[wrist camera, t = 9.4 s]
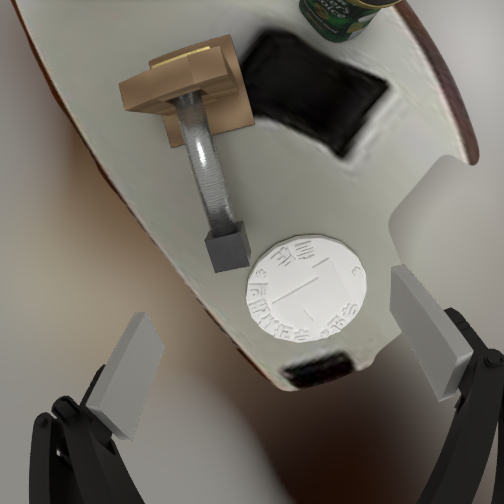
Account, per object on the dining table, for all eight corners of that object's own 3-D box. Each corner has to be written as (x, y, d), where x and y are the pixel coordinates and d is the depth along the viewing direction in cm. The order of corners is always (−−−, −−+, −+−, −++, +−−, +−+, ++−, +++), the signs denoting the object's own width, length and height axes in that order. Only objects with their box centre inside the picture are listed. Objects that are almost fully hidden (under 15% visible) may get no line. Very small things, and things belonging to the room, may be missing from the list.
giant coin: (363, 320, 49) (368, 330, 46) (262, 342, 51) (262, 353, 49) (356, 220, 41) (363, 226, 39) (233, 247, 44) (231, 255, 41)
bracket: (151, 63, 32) (100, 37, 18) (230, 37, 30) (214, -10, 17) (173, 147, 37) (127, 157, 24) (255, 124, 36) (251, 117, 22)
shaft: (171, 92, 27) (160, 88, 23) (205, 81, 27) (197, 75, 23) (220, 257, 35) (215, 272, 32) (251, 251, 35) (249, 265, 31)
